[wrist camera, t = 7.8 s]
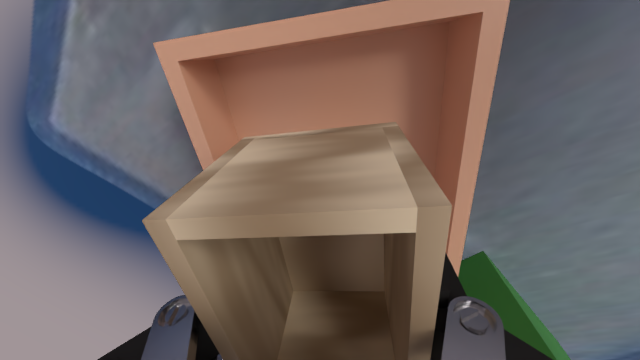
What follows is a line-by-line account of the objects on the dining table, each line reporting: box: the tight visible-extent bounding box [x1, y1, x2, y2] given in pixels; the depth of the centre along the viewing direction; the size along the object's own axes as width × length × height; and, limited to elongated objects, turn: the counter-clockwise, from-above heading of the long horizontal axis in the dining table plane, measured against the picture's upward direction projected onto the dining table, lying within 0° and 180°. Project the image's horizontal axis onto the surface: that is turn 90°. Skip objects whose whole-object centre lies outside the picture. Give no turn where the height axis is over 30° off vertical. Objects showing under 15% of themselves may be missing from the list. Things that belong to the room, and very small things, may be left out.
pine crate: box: [142, 122, 452, 360], centre depth 10 cm, size 6×10×6 cm, turn 7°
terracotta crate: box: [153, 0, 510, 276], centre depth 18 cm, size 17×19×5 cm
